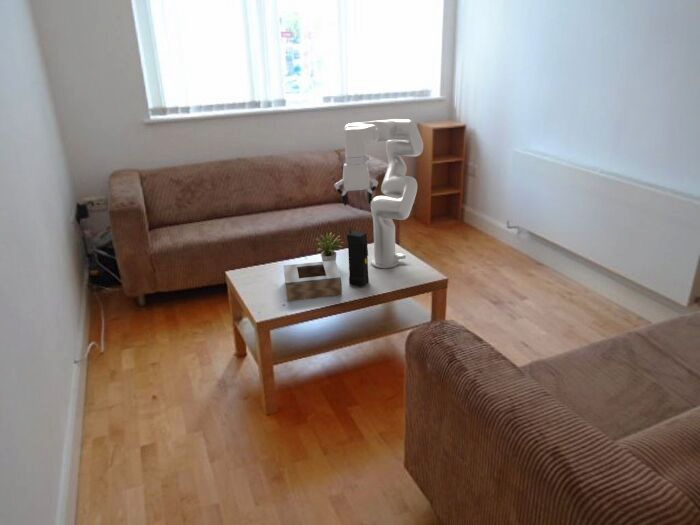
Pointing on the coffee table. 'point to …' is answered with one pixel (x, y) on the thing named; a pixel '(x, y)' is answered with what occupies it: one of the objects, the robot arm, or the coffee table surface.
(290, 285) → the box
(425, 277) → the coffee table surface
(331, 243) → the house plant
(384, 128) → the robot arm
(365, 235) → the portable radio
